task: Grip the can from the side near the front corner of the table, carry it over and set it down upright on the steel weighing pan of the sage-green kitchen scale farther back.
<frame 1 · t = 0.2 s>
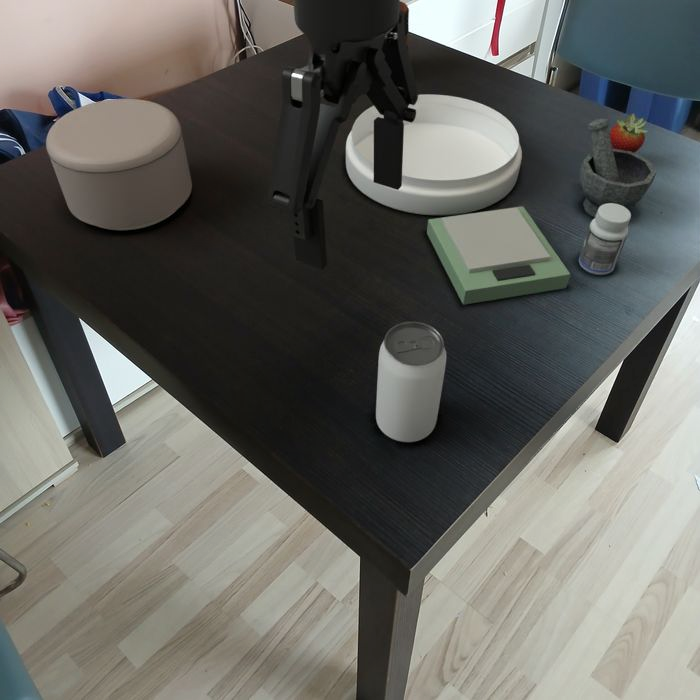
hand: (351, 221, 61), 20 cm above the table, tool pointing down, fingers open, 13 cm apart
mortar and pestle: (600, 207, 98), on the table
can: (405, 420, 71), on the table
kitchen scale: (493, 259, 89), on the table
container: (133, 200, 98), on the table
white round shallow dish: (431, 166, 105), on the table
mug: (384, 76, 126), on the table
pill bottle: (595, 265, 89), on the table
fruit: (616, 164, 105), on the table
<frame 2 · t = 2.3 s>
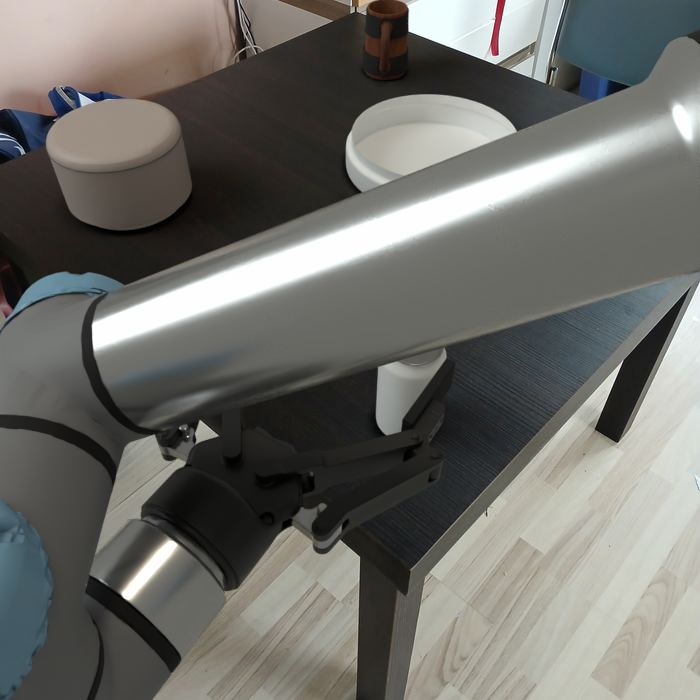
hand: (370, 336, 51), 20 cm above the table, tool horizontal, fingers open, 13 cm apart
nothing on the table moved.
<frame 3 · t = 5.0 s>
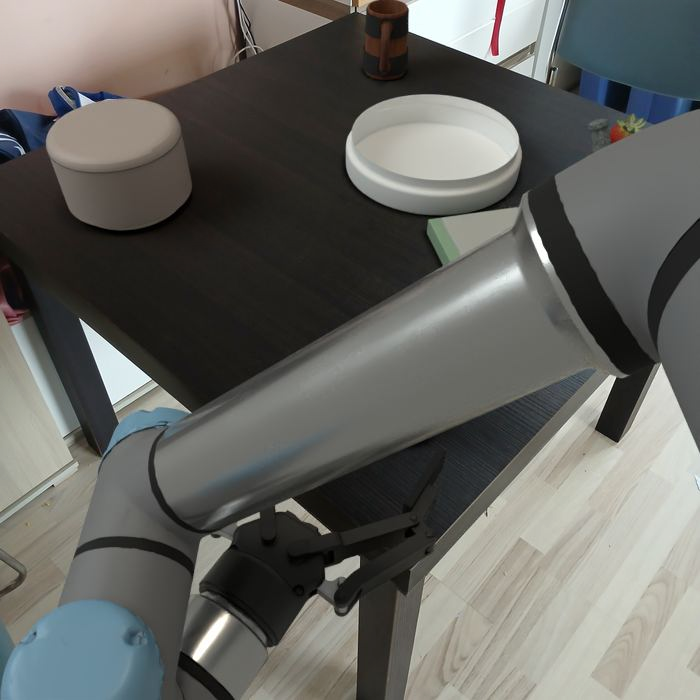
hand: (375, 425, 62), 7 cm above the table, tool horizontal, fingers open, 13 cm apart
nothing on the table moved.
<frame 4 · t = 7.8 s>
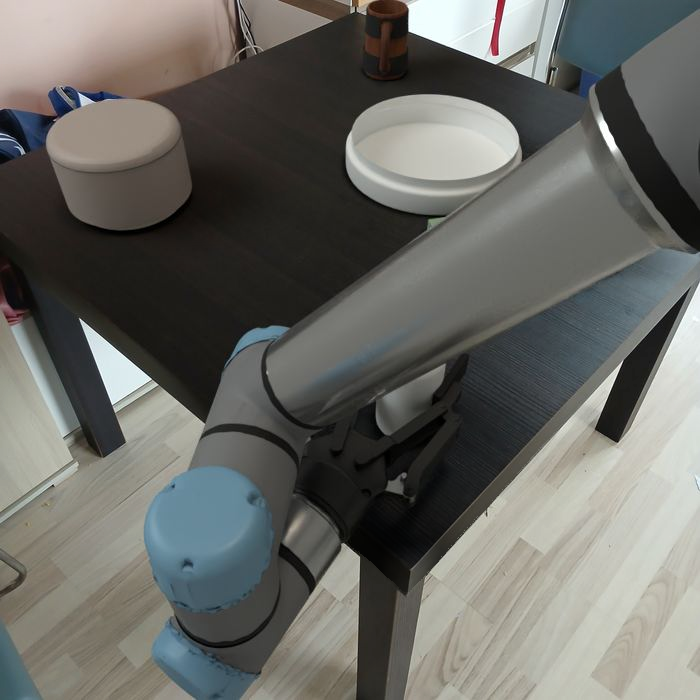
hand: (432, 348, 69), 6 cm above the table, tool horizontal, fingers closed on can, 6 cm apart
can: (405, 420, 71), on the table, touching gripper
everything else where it was.
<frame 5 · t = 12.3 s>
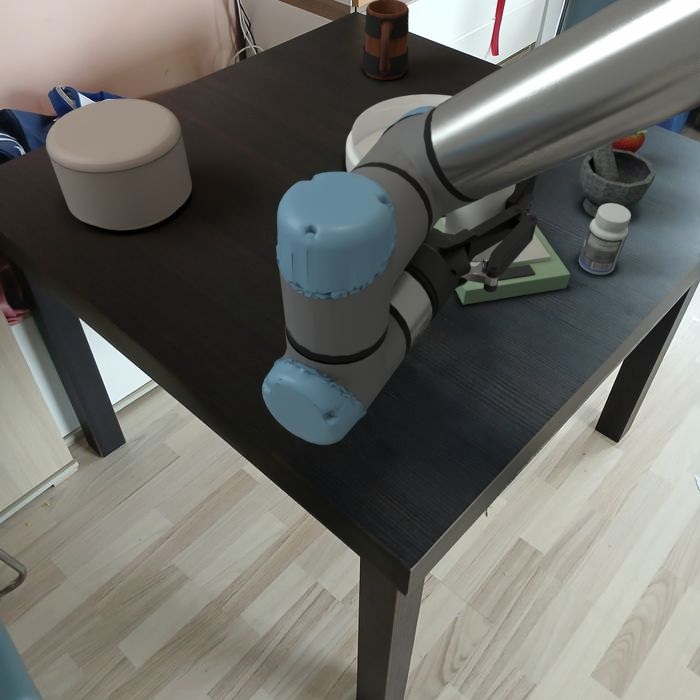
hand: (499, 172, 71), 18 cm above the table, tool horizontal, fingers closed on can, 6 cm apart
can: (471, 246, 73), point 11 cm above the table, touching gripper
everything else where it was.
when the fingers open (10 cm above the table, at t = 16.7 s): can stays where it is, resting on kitchen scale.
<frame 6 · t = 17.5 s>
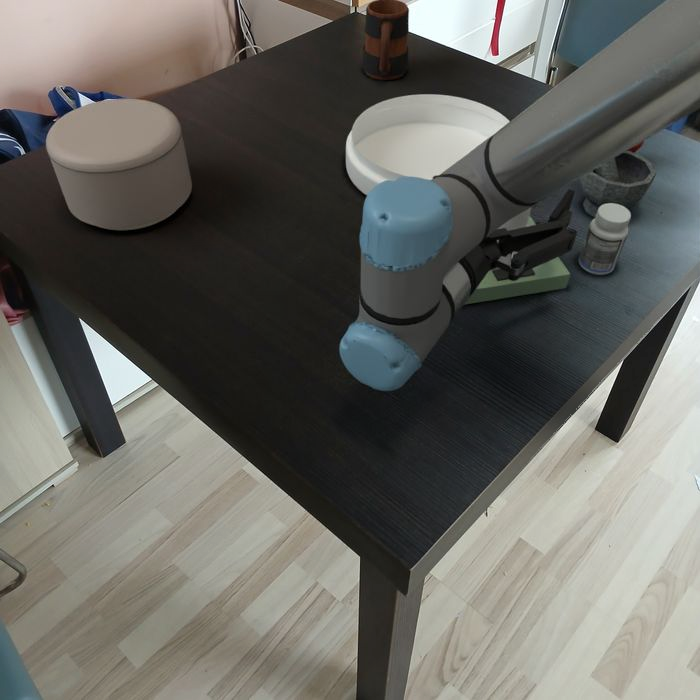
hand: (517, 182, 84), 10 cm above the table, tool horizontal, fingers open, 13 cm apart
can: (496, 242, 87), point 3 cm above the table, touching kitchen scale
everything else where it was.
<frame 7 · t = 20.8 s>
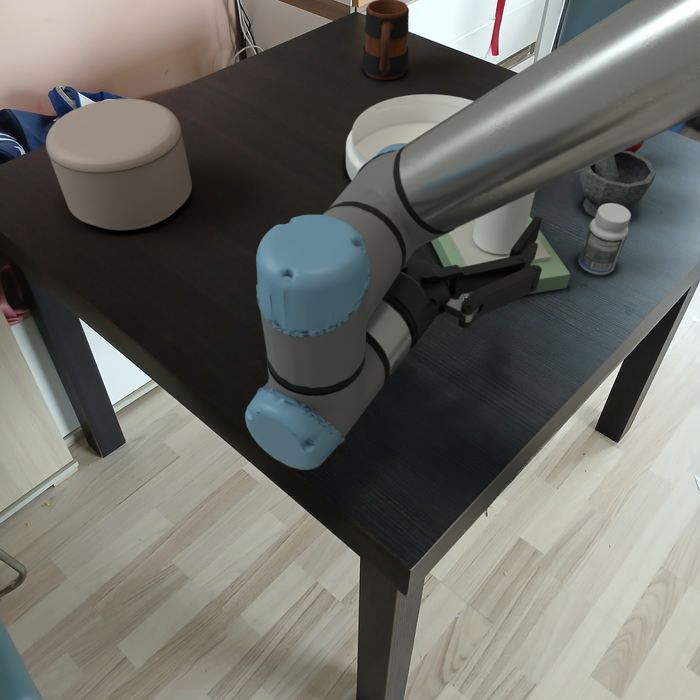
hand: (477, 207, 72), 15 cm above the table, tool horizontal, fingers open, 13 cm apart
nothing on the table moved.
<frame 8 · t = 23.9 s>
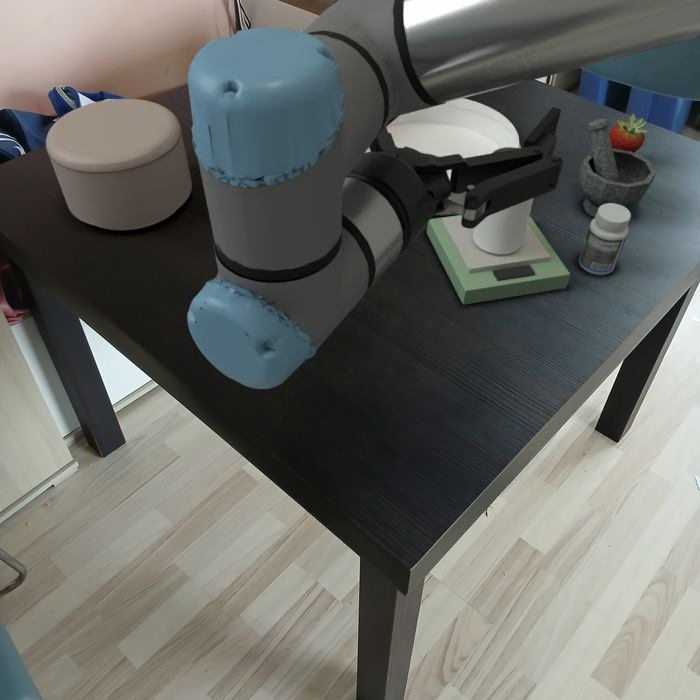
hand: (482, 102, 61), 28 cm above the table, tool horizontal, fingers open, 13 cm apart
nothing on the table moved.
at the end: can inside the target area on the kitchen scale (1.0 cm from its centre), point 2.9 cm above the kitchen scale's base; can tilted 0°; the gripper is holding nothing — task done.
